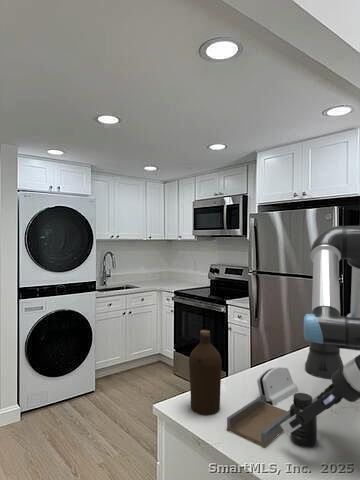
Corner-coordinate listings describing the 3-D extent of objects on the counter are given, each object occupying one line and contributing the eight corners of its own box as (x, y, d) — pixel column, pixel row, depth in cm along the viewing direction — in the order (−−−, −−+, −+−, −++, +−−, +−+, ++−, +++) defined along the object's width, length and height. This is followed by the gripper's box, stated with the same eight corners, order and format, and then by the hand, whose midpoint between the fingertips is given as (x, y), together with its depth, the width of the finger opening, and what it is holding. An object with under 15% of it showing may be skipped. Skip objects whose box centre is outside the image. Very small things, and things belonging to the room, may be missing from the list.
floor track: (262, 405, 110) (262, 394, 110) (297, 418, 102) (297, 406, 102) (227, 430, 96) (227, 417, 96) (264, 447, 87) (264, 434, 87)
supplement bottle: (297, 430, 95) (297, 388, 95) (321, 440, 90) (321, 396, 90) (285, 440, 90) (285, 396, 91) (310, 451, 86) (309, 404, 86)
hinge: (273, 406, 109) (264, 374, 112) (261, 406, 113) (253, 375, 115) (299, 390, 121) (290, 362, 123) (288, 391, 124) (279, 363, 127)
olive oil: (225, 415, 104) (224, 335, 104) (191, 417, 103) (191, 336, 103) (218, 399, 114) (217, 326, 114) (187, 401, 113) (186, 327, 113)
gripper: (349, 413, 71) (283, 454, 81) (379, 378, 89) (322, 415, 99) (324, 381, 74) (264, 424, 85) (357, 354, 93) (304, 392, 103)
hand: (295, 419), depth 92 cm, fingers open, 13 cm apart
